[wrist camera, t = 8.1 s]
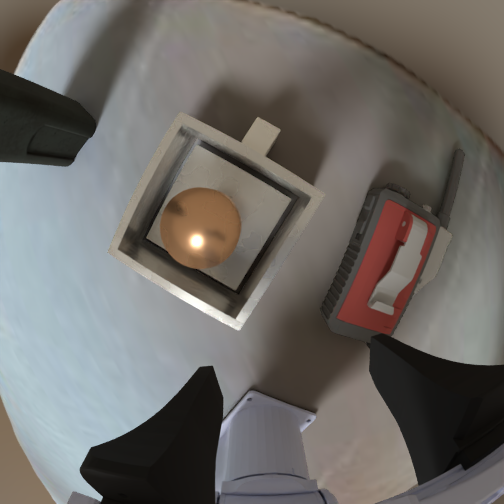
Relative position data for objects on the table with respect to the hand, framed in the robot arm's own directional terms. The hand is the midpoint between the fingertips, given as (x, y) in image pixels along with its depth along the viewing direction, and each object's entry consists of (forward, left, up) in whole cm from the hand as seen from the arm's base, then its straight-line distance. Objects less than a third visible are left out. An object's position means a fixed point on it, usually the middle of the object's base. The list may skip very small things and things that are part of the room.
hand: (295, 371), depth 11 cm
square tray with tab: (+3, +7, -10) cm, 13 cm away
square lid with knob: (+3, +7, -11) cm, 13 cm away
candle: (+3, +23, -11) cm, 25 cm away
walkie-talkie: (+9, -7, -11) cm, 16 cm away
